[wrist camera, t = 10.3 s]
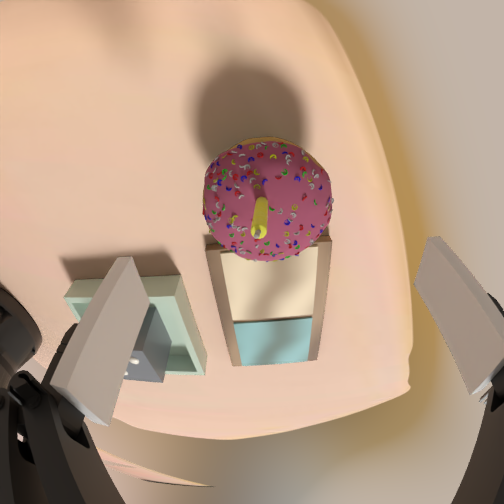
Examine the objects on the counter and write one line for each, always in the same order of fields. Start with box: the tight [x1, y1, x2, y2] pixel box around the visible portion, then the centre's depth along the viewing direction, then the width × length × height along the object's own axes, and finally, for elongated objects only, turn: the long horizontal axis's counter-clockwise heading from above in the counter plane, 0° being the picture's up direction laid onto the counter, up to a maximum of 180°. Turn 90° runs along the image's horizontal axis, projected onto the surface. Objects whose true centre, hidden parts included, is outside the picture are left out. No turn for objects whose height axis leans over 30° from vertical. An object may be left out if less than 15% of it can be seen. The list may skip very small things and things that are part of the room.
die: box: [123, 307, 172, 383], centre depth 27 cm, size 6×6×6 cm
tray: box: [64, 275, 207, 375], centre depth 29 cm, size 14×14×3 cm
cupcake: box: [203, 137, 334, 262], centre depth 16 cm, size 9×8×12 cm
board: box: [205, 236, 332, 366], centre depth 29 cm, size 11×18×1 cm, turn 5°
